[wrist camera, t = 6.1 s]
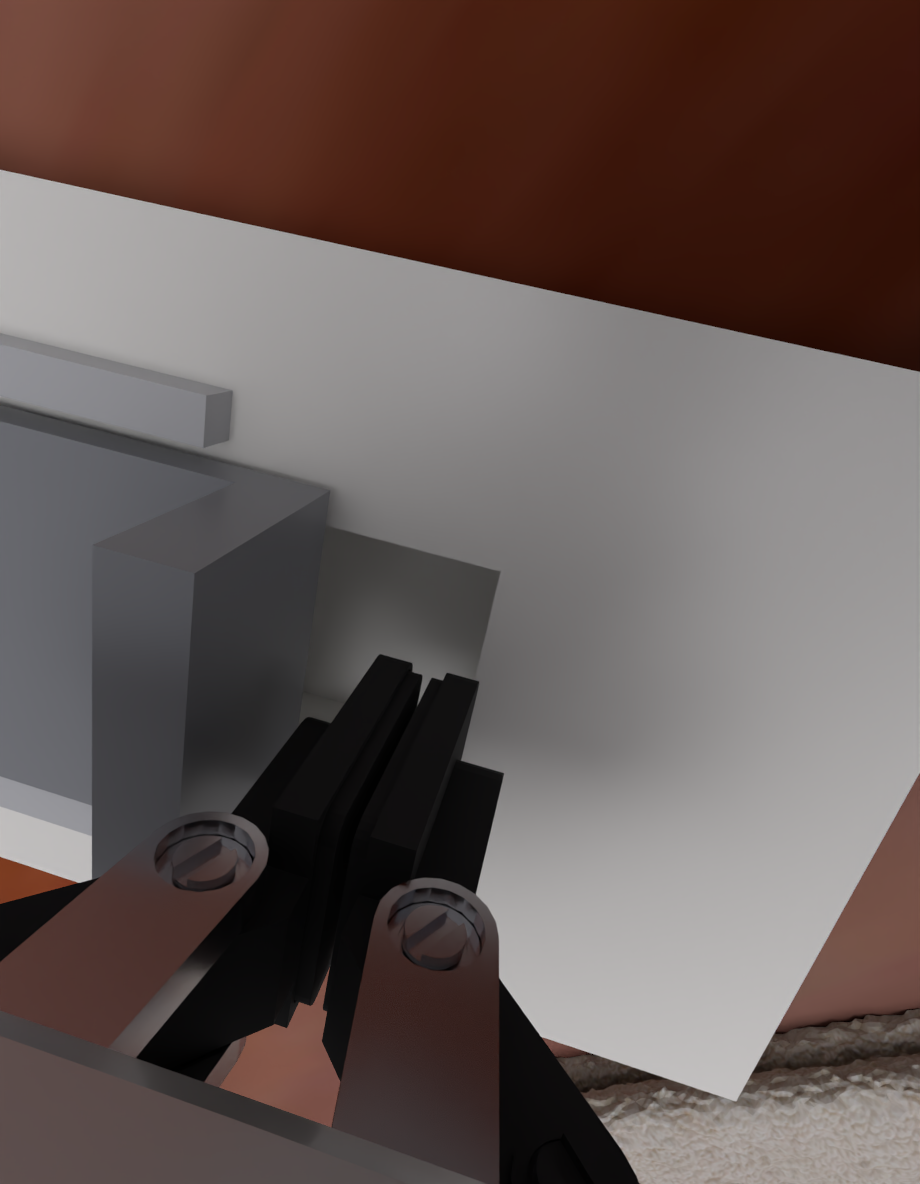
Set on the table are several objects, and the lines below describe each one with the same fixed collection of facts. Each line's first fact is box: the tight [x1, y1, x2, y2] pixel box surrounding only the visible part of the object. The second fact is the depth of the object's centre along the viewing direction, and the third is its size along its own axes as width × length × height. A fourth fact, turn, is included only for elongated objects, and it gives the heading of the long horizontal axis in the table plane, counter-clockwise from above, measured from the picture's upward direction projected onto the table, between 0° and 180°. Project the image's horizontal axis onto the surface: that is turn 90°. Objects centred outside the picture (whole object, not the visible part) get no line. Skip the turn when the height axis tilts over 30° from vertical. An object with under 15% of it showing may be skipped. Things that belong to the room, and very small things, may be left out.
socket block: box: [0, 170, 920, 1101], centre depth 14 cm, size 20×14×5 cm
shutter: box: [0, 405, 330, 879], centre depth 11 cm, size 7×7×4 cm
